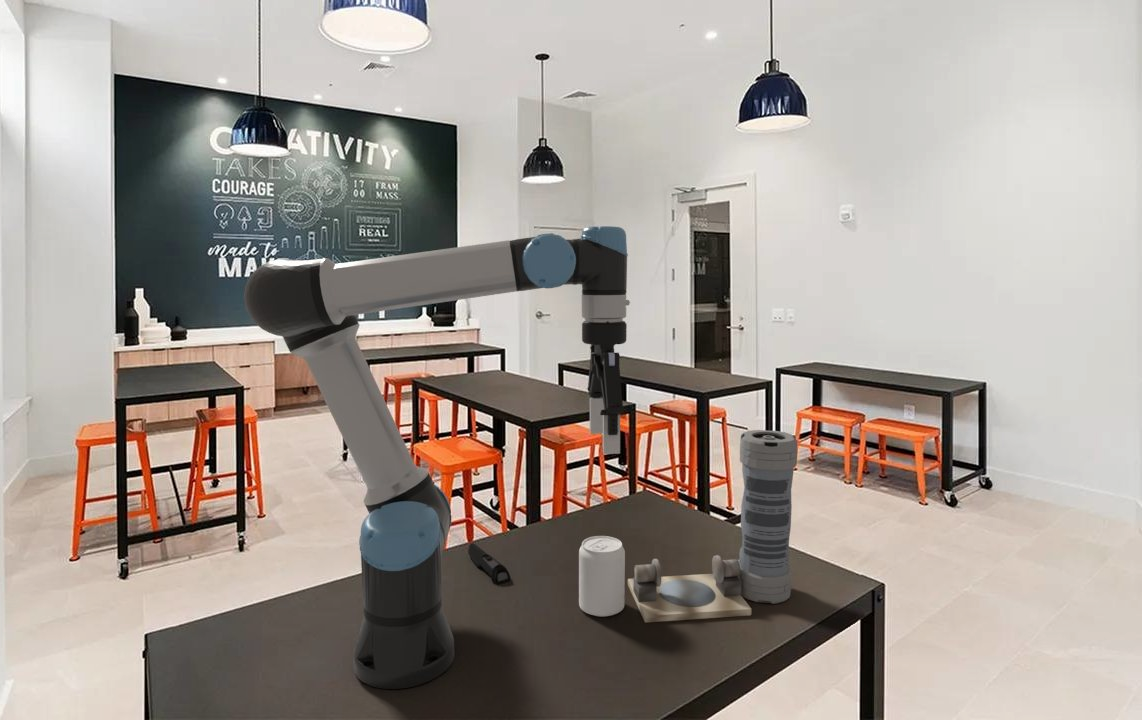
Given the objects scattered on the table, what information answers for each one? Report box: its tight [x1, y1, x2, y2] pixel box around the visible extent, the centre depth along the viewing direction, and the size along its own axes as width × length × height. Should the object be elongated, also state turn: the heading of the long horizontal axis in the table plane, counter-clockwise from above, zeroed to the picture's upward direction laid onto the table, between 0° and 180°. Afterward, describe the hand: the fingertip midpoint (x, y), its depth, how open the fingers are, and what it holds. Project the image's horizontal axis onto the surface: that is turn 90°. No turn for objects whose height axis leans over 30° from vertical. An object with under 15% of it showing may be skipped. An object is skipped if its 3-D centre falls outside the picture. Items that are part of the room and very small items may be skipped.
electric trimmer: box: [467, 542, 512, 586], centre depth 135 cm, size 4×16×3 cm, turn 31°
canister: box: [737, 429, 799, 605], centre depth 123 cm, size 10×10×30 cm
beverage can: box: [578, 535, 626, 618], centre depth 118 cm, size 8×8×12 cm
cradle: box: [627, 554, 752, 624], centre depth 122 cm, size 19×14×8 cm
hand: (604, 442), depth 115 cm, fingers open, 13 cm apart
